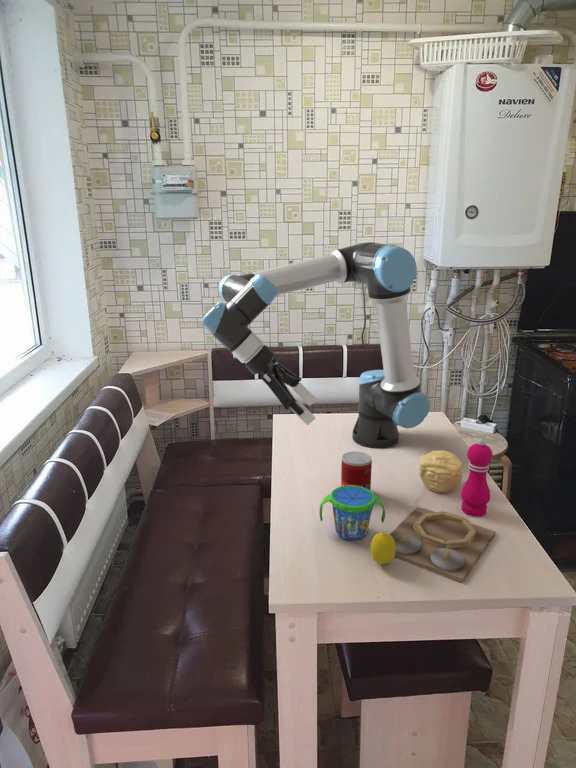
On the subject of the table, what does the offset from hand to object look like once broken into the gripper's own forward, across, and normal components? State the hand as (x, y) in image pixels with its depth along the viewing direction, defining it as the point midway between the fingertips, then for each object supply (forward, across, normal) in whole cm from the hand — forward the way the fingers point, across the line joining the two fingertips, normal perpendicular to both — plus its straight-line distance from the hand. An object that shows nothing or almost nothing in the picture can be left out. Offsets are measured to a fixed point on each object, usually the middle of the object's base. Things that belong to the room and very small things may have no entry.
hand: (312, 411), depth 153 cm
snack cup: (+24, +18, -10) cm, 32 cm away
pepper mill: (+46, +6, +13) cm, 49 cm away
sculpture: (+42, -6, +8) cm, 43 cm away
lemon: (+29, +30, -5) cm, 42 cm away
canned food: (+26, -1, -8) cm, 27 cm away
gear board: (+38, +21, +5) cm, 44 cm away
